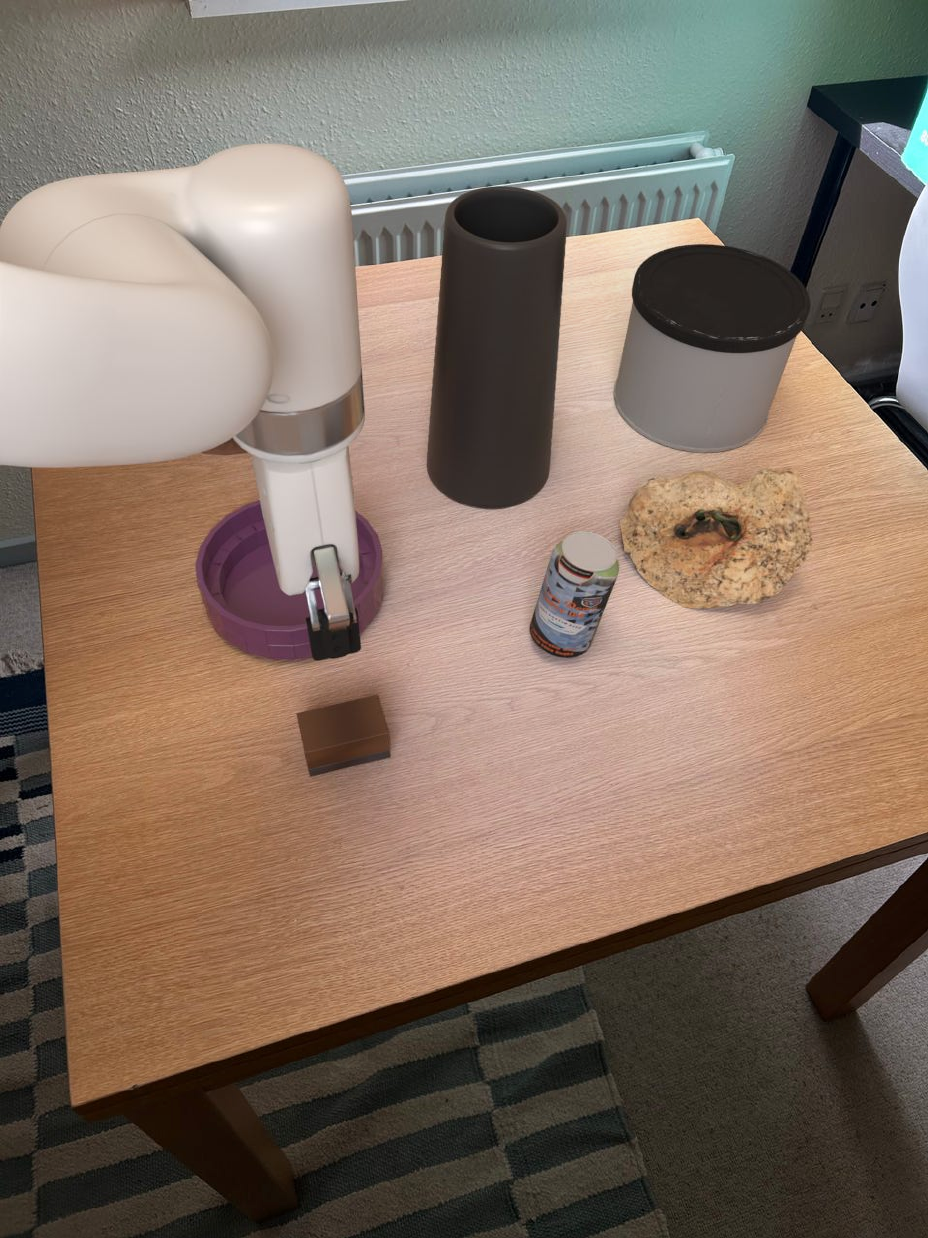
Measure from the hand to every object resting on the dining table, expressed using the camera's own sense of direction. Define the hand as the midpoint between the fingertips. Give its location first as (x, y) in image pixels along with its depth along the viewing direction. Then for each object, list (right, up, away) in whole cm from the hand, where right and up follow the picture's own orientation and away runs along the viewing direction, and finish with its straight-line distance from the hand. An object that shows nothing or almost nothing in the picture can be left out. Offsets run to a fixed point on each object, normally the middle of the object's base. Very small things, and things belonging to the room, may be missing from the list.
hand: (322, 598), depth 63 cm
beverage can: (+19, -3, +24) cm, 31 cm away
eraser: (0, -13, +16) cm, 20 cm away
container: (+37, +25, +47) cm, 65 cm away
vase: (+12, +15, +39) cm, 44 cm away
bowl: (-7, +1, +27) cm, 27 cm away
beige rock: (+34, +4, +31) cm, 46 cm away
